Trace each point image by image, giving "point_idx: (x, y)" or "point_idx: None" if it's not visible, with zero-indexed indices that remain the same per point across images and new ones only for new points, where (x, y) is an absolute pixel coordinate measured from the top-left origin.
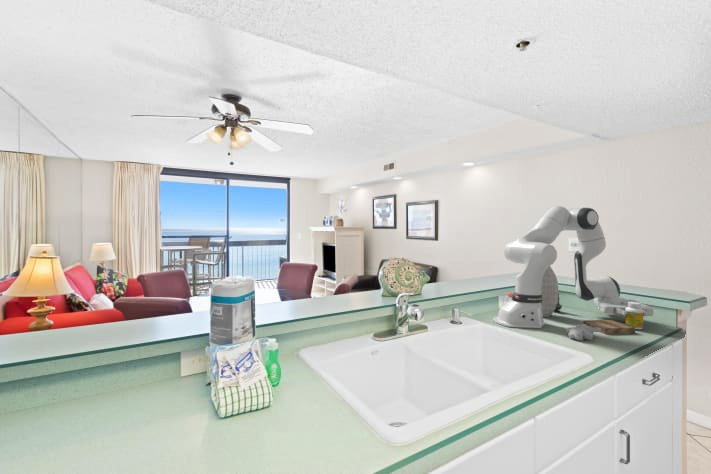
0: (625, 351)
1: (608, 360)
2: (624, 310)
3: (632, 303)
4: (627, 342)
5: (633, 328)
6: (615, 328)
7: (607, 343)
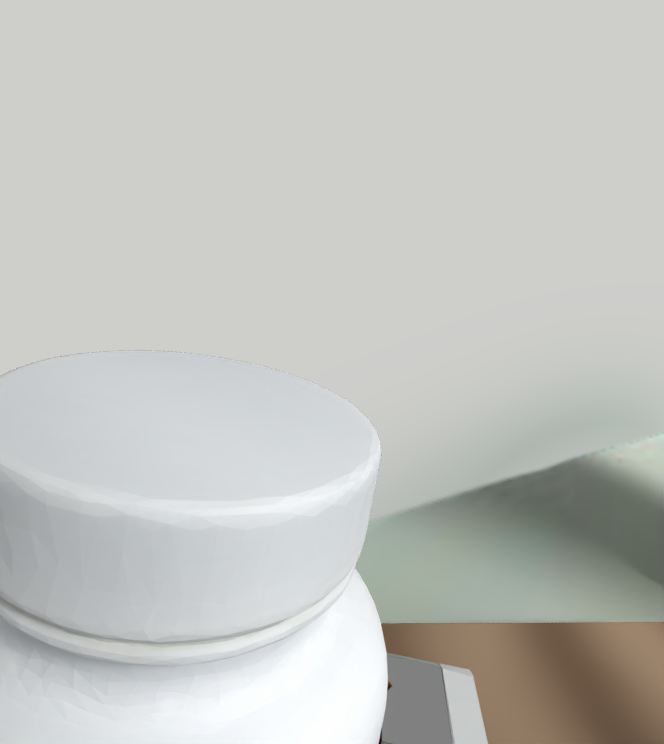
0: (578, 463)
1: (649, 438)
2: (432, 725)
3: (338, 395)
4: (535, 524)
5: (386, 631)
6: (609, 626)
7: (657, 526)
